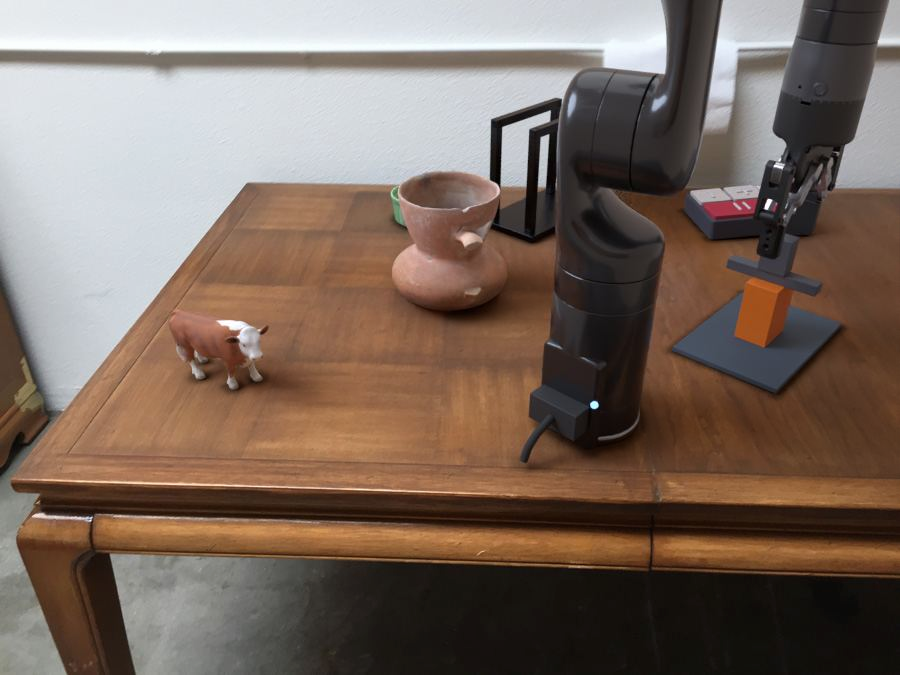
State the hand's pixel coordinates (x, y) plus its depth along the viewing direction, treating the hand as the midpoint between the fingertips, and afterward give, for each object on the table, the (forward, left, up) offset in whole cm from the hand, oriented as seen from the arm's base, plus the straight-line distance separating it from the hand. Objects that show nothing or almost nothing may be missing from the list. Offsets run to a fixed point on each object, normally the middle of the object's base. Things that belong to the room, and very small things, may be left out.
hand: (784, 244), depth 81 cm
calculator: (+30, +16, -12) cm, 36 cm away
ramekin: (-2, +53, -12) cm, 55 cm away
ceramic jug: (-16, +34, -12) cm, 40 cm away
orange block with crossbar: (0, +1, -12) cm, 12 cm away
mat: (0, 0, -12) cm, 12 cm away
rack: (+11, +40, -12) cm, 44 cm away
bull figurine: (-46, +38, -12) cm, 61 cm away
